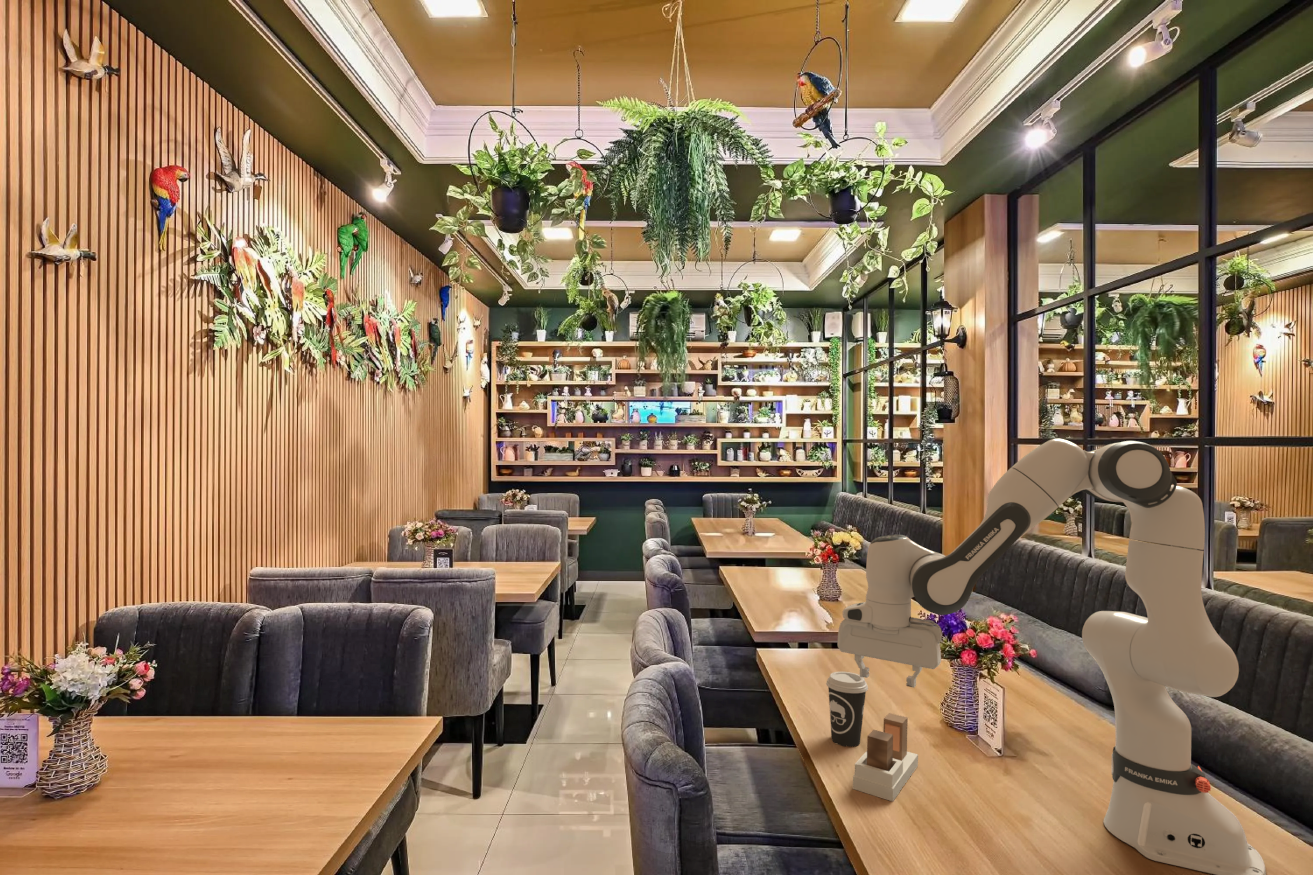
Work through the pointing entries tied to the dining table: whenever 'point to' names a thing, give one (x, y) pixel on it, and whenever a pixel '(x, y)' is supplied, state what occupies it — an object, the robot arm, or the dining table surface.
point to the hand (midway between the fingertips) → (887, 681)
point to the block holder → (902, 768)
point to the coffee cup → (846, 707)
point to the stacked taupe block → (880, 750)
